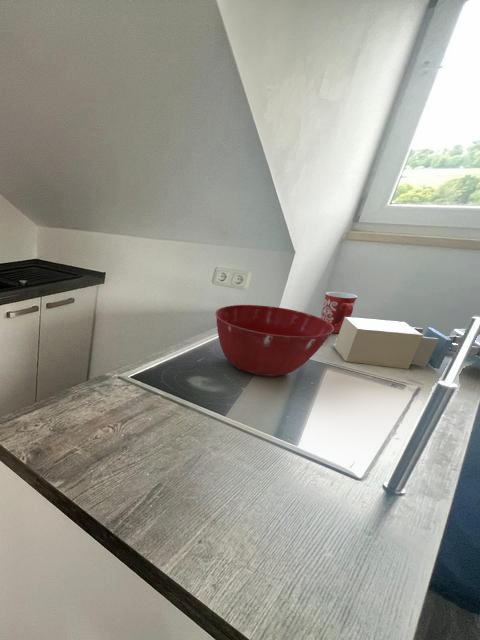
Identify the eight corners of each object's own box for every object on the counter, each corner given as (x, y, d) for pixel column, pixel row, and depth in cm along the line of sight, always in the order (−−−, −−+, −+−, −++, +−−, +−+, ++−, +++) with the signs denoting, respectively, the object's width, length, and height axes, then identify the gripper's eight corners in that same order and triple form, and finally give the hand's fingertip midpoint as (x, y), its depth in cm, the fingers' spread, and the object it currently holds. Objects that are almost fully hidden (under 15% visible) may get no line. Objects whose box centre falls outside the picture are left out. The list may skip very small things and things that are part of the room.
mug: (310, 325, 150) (321, 291, 144) (338, 327, 147) (350, 292, 142) (324, 336, 139) (336, 299, 133) (354, 338, 136) (368, 301, 131)
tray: (440, 356, 118) (453, 329, 115) (461, 371, 109) (476, 342, 105) (364, 348, 126) (374, 322, 122) (378, 361, 116) (389, 334, 113)
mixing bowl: (341, 378, 109) (360, 326, 103) (267, 397, 100) (284, 341, 94) (250, 344, 133) (262, 300, 127) (185, 357, 125) (194, 311, 118)
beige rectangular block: (390, 353, 124) (404, 321, 119) (408, 368, 113) (423, 335, 109) (334, 347, 130) (344, 316, 125) (345, 361, 119) (357, 328, 115)
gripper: (534, 375, 100) (460, 366, 105) (485, 347, 117) (424, 341, 122) (547, 352, 97) (471, 345, 103) (496, 327, 114) (433, 322, 119)
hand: (445, 342), depth 112 cm, fingers closed on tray, 5 cm apart
